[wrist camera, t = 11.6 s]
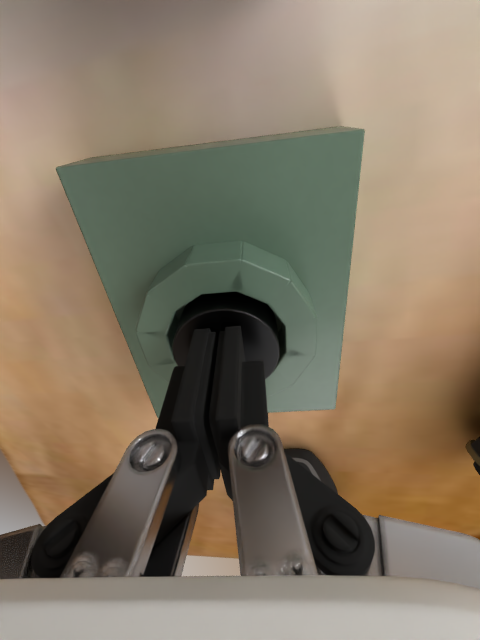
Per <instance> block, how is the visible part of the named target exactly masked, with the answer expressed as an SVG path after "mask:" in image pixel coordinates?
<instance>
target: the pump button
mask: <svg viewBox="0 0 480 640" xmlns="http://www.w3.org/2000/svg"><path fill="white" fill-rule="evenodd" d="M232 326H241V332H242V340H243V347H244V355H245V362H247V361H262V360H264V370H265V379H267V378H268V377H269V376H270V375H271V373H272V372H273V371H274V369H275V368H276V366H277V363H278V361H279V357H280V346H279V339H278V331H277V323H276V318H275V315H274V313H273V310H272V309H271V308H270V307H269V305H268V304H266V303H264V302H261V301H259V300H256V299H254V298H251V297H249V296H246V295H244V294H241V293H239V292H224V293H212V294H201V295H200V296H198V297H197V298H195V299H194V300H192V301H191V302H189V303H188V304H187V305H186V306H185V308H184V310H183V312H182V315H181V318H180V321H179V324H178V327H177V330H176V333H175V336H174V339H173V346H172V348H173V355H174V359H175V361H176V364H177V365H178V366H185V364H186V360H187V356H188V352H189V348H190V344H191V340H192V336H193V332H194V330H195V329H206V328H210V330H211V332H216V334H217V339H218V341H219V333H220V331H225V327H232Z"/></svg>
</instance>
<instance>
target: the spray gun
mask: <svg viewBox="0 0 480 640" xmlns="http://www.w3.org/2000/svg"><path fill="white" fill-rule="evenodd" d="M466 449H467V451H468V453H469V454H470V455H471V457H472V458H473V460H474V461H475V462H474V463H473V465H474V467H475V469H476V471H477V472H478V474H479V475H480V437H479V438H477V439H476V440H470V441H469V442H468V443H467V444H466Z"/></svg>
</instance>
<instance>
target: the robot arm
mask: <svg viewBox="0 0 480 640" xmlns="http://www.w3.org/2000/svg"><path fill="white" fill-rule="evenodd" d="M220 470H221V472H222V476H223V480H224V484H225V488H226V492H227V495H228V496H229V497H230V498H231V499H232V501H233V505H234V515H235V525H236V535H237V544H238V554H239V564H240V573H241V576H181V575H182V571H183V567H184V563H185V559H186V556H187V552H188V548H189V544H190V540H191V537H192V533H193V529H194V525H195V521H196V517H197V514H198V507H199V502H200V501H201V500H202V499H203V498H204V497H205V496H206V494H207V490H213V485H214V479H219V478H220ZM0 640H480V540H479V539H477V538H474V537H472V536H469V535H467V534H463V533H459V532H454V531H449V530H445V529H440V528H436V527H431V526H427V525H422V524H418V523H413V522H408V521H404V520H399V519H395V518H390V517H386V516H381V515H379V517H378V518H374V517H370V516H365V515H362V514H361V513H360V512H359V511H358V510H357V509H356V508H354V507H353V506H352V505H351V504H349V503H348V502H347V501H345V500H344V499H343V498H342V497H340V496H339V495H338V494H337V493H335V492H334V491H333V490H332V489H330V488H329V487H328V486H327V485H325V484H324V483H323V482H322V481H320V480H319V479H318V478H317V477H315V476H314V475H313V474H312V473H310V472H309V471H308V470H307V469H305V468H304V467H303V466H301V465H300V464H299V463H298V462H296V461H295V460H294V459H293V458H291V457H290V456H289V455H288V454H286V453H285V452H284V449H283V445H282V442H281V440H280V437H279V435H278V434H277V433H276V432H275V431H274V430H273V429H271V428H269V425H268V410H267V395H266V382H265V370H264V360H262V361H247V362H245V355H244V347H243V340H242V332H241V326H232V327H225V331H220V333H219V341H218V339H217V334H216V332H211V330H210V328H206V329H195V330H194V332H193V336H192V340H191V344H190V348H189V352H188V356H187V360H186V364H185V366H175V367H174V369H173V372H172V375H171V378H170V382H169V385H168V389H167V392H166V395H165V399H164V402H163V405H162V409H161V412H160V416H159V419H158V422H157V426H156V429H153V430H150V431H146V432H144V433H142V434H141V435H139V436H138V437H136V438H135V439H134V440H133V441H132V442H131V443H130V445H129V446H128V448H127V449H126V451H125V453H124V455H123V457H122V459H121V461H120V463H119V465H118V467H117V469H116V470H115V472H114V473H113V474H112V475H111V476H109V477H108V478H107V479H106V480H104V481H103V482H102V483H100V484H99V485H98V486H96V487H95V488H94V489H92V490H91V491H90V492H89V493H87V494H86V495H85V496H83V497H82V498H81V499H79V500H78V501H77V502H76V503H74V504H73V505H72V506H70V507H69V508H68V509H66V510H65V511H64V512H62V513H61V514H60V515H59V516H57V517H56V518H55V519H54V520H53V521H52V522H50V523H49V524H48V525H47V526H44V527H43V526H41V525H40V524H38V525H34V526H30V527H27V528H24V529H20V530H16V531H13V532H9V533H5V534H2V535H0Z"/></svg>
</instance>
